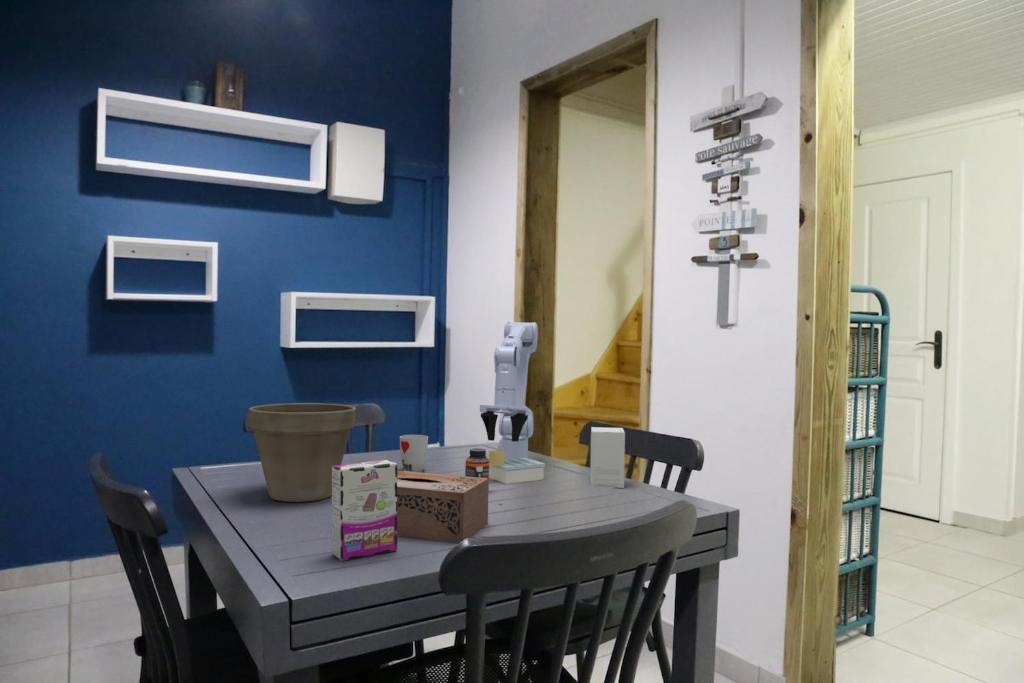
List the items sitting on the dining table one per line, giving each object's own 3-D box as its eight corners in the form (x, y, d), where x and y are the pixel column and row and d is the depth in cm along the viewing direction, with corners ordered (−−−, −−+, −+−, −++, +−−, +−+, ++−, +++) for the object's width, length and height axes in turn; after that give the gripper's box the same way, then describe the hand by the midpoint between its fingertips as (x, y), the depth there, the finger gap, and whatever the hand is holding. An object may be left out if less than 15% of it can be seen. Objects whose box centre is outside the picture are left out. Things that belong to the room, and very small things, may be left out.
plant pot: (305, 480, 191) (306, 399, 191) (375, 492, 179) (376, 405, 178) (224, 498, 170) (226, 407, 170) (298, 514, 157) (299, 415, 157)
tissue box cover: (345, 530, 146) (345, 481, 146) (378, 513, 160) (379, 468, 160) (463, 544, 139) (463, 493, 138) (487, 525, 152) (488, 478, 152)
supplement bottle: (485, 498, 175) (486, 451, 175) (462, 496, 176) (462, 450, 176) (491, 492, 181) (491, 448, 181) (468, 491, 182) (469, 446, 182)
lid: (482, 464, 196) (483, 449, 196) (525, 460, 203) (526, 445, 203) (501, 471, 188) (501, 454, 187) (545, 466, 195) (545, 450, 195)
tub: (488, 479, 196) (488, 465, 196) (525, 475, 203) (525, 461, 203) (506, 486, 189) (506, 471, 189) (543, 481, 195) (543, 467, 195)
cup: (395, 469, 207) (396, 435, 207) (422, 467, 211) (423, 434, 211) (403, 475, 200) (404, 439, 200) (431, 473, 204) (432, 438, 203)
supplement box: (622, 481, 198) (624, 427, 197) (624, 488, 189) (625, 431, 189) (589, 480, 199) (590, 426, 198) (590, 487, 190) (591, 430, 189)
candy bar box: (385, 544, 137) (387, 458, 136) (397, 551, 133) (399, 463, 132) (329, 554, 130) (330, 464, 130) (340, 562, 126) (341, 469, 126)
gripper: (490, 387, 186) (487, 440, 185) (536, 391, 194) (534, 442, 192) (476, 388, 192) (474, 439, 190) (521, 392, 200) (519, 441, 198)
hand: (503, 441), depth 192 cm, fingers open, 7 cm apart
